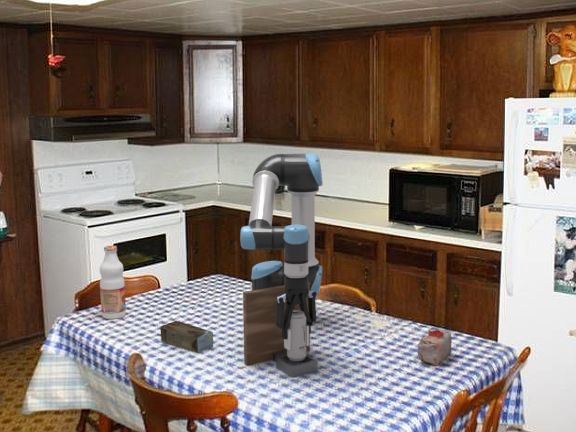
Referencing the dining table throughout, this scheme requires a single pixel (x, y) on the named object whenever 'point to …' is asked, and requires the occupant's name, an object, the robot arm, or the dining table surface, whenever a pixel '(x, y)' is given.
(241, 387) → the dining table surface
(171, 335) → the beverage carton
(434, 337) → the food item
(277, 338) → the wall board
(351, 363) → the dining table surface
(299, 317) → the energy drink can
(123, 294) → the fruit juice
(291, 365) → the can cradle
